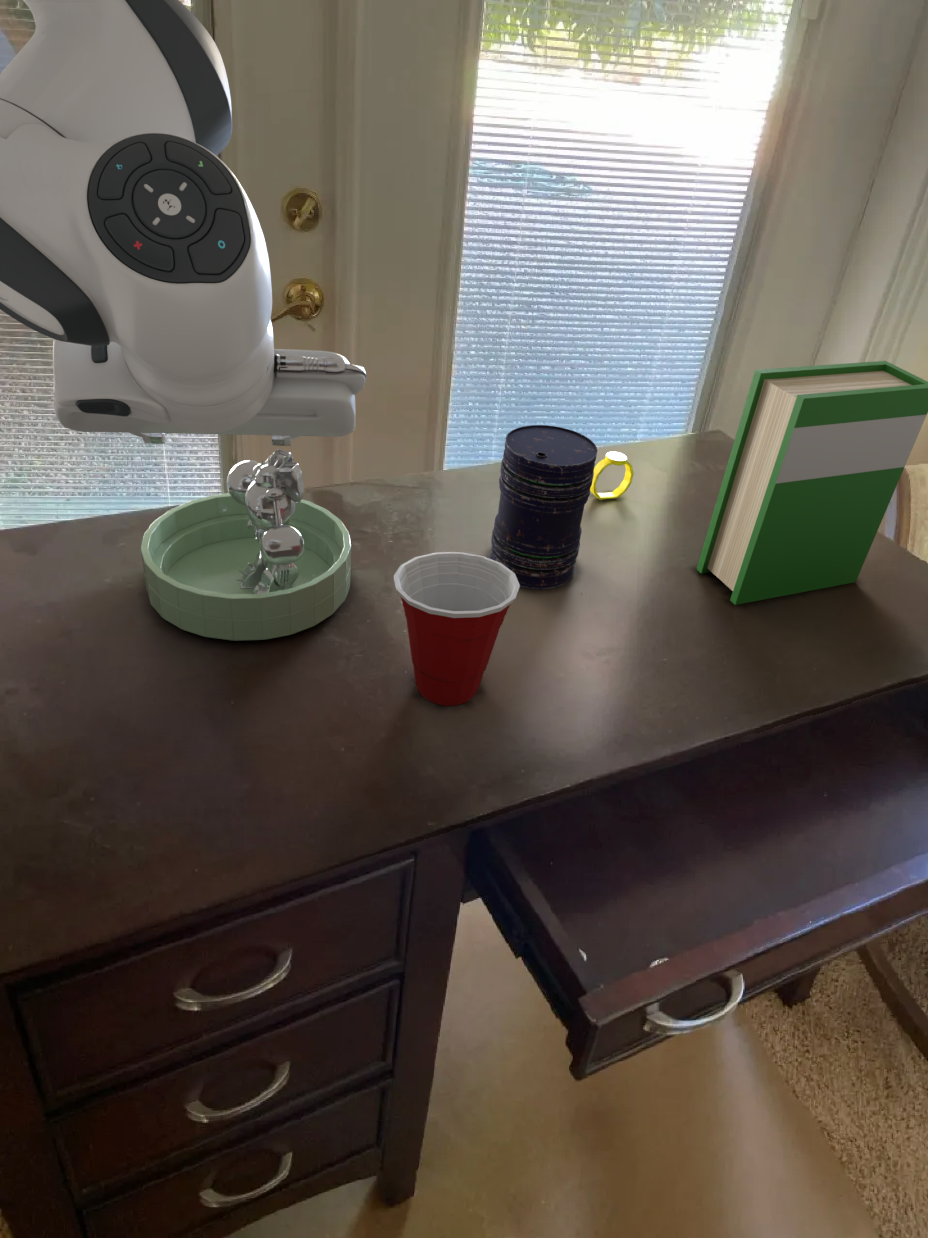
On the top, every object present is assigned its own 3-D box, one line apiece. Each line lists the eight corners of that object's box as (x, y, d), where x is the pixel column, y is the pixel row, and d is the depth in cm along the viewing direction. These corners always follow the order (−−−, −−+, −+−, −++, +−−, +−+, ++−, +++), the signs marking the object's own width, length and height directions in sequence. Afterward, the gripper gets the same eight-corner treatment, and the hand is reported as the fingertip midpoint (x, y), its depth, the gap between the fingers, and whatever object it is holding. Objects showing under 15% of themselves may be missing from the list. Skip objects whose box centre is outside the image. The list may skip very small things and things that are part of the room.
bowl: (136, 649, 82) (128, 600, 79) (158, 535, 99) (153, 491, 95) (356, 642, 86) (357, 595, 83) (343, 534, 102) (344, 491, 99)
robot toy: (220, 550, 96) (210, 420, 87) (276, 541, 99) (272, 415, 90) (256, 627, 86) (248, 489, 77) (317, 616, 88) (317, 481, 79)
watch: (593, 505, 114) (601, 463, 110) (581, 495, 116) (589, 453, 112) (631, 499, 116) (641, 457, 113) (619, 489, 118) (628, 448, 115)
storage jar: (508, 534, 106) (525, 416, 97) (586, 558, 103) (610, 439, 94) (474, 572, 98) (489, 449, 90) (556, 600, 96) (580, 475, 87)
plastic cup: (479, 641, 88) (492, 537, 81) (522, 712, 80) (540, 604, 73) (373, 657, 85) (378, 550, 78) (407, 733, 77) (415, 622, 70)
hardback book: (735, 604, 98) (803, 398, 84) (696, 569, 103) (755, 369, 89) (855, 582, 104) (938, 386, 90) (813, 549, 110) (885, 360, 96)
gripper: (367, 317, 58) (352, 400, 71) (30, 301, 54) (81, 392, 67) (370, 409, 57) (355, 476, 70) (27, 400, 53) (80, 473, 66)
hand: (219, 435), depth 69 cm, fingers open, 8 cm apart
